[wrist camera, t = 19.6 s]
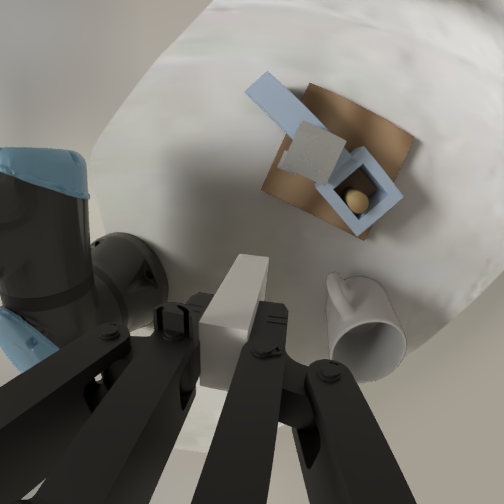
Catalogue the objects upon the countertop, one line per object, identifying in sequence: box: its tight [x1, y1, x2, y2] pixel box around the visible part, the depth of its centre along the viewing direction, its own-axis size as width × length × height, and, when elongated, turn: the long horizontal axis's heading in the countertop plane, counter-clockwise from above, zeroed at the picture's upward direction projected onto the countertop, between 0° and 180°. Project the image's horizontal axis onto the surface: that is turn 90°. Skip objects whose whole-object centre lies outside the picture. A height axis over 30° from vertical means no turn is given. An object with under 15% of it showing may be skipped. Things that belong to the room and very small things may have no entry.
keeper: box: [277, 120, 346, 186], centre depth 28 cm, size 5×5×7 cm
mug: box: [326, 272, 407, 383], centre depth 32 cm, size 12×8×11 cm
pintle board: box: [261, 83, 414, 241], centre depth 29 cm, size 14×14×8 cm
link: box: [245, 71, 403, 237], centre depth 29 cm, size 18×6×5 cm, turn 44°
